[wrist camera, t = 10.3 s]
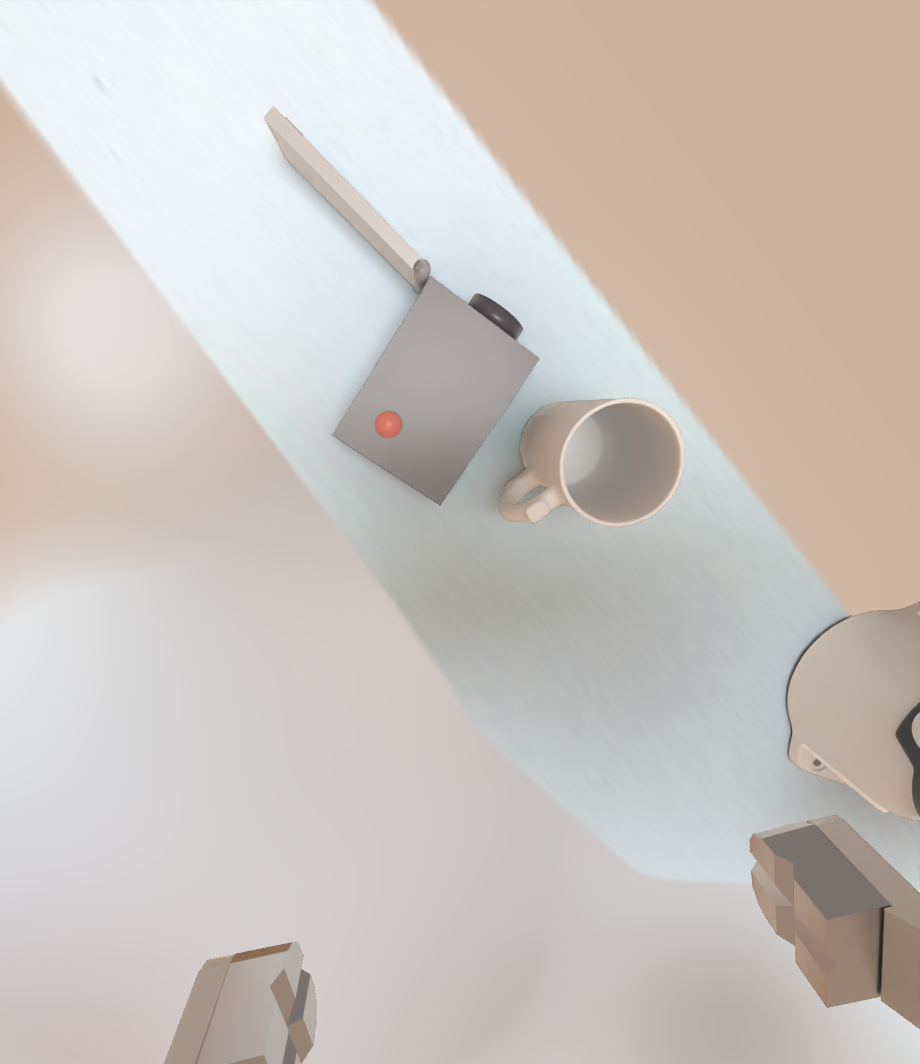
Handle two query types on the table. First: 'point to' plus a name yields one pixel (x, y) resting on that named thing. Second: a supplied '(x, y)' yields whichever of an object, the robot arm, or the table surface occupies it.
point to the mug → (597, 462)
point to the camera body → (438, 389)
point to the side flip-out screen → (347, 200)
